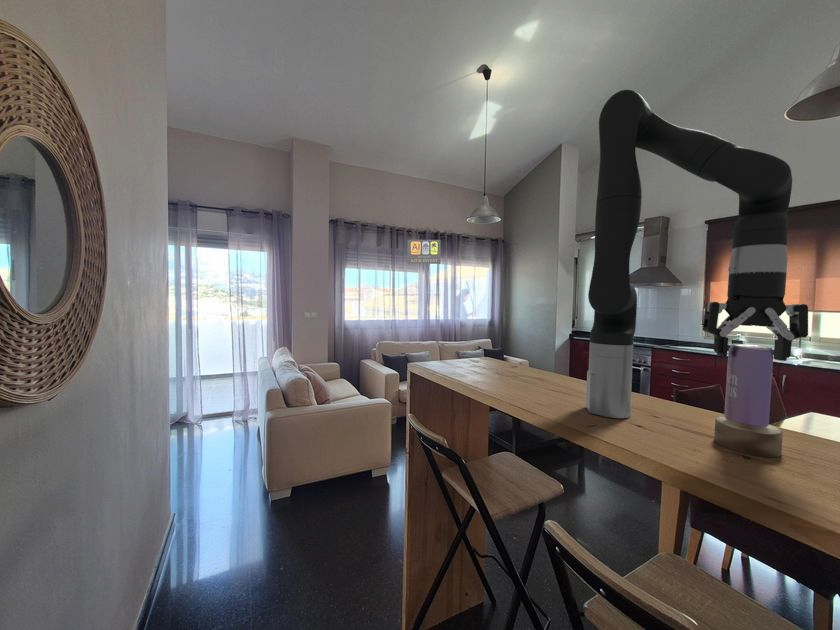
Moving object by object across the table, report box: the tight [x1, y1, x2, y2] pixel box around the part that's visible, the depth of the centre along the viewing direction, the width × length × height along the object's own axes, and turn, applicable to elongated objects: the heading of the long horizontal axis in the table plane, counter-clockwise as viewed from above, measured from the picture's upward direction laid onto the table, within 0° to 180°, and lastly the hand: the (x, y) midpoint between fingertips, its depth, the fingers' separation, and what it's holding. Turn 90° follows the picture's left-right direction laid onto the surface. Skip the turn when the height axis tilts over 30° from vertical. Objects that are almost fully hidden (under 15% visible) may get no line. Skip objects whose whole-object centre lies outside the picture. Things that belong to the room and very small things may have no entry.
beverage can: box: [723, 343, 774, 429], centre depth 62 cm, size 6×6×15 cm
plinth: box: [713, 416, 784, 458], centre depth 62 cm, size 9×9×4 cm
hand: (750, 358), depth 61 cm, fingers open, 8 cm apart
